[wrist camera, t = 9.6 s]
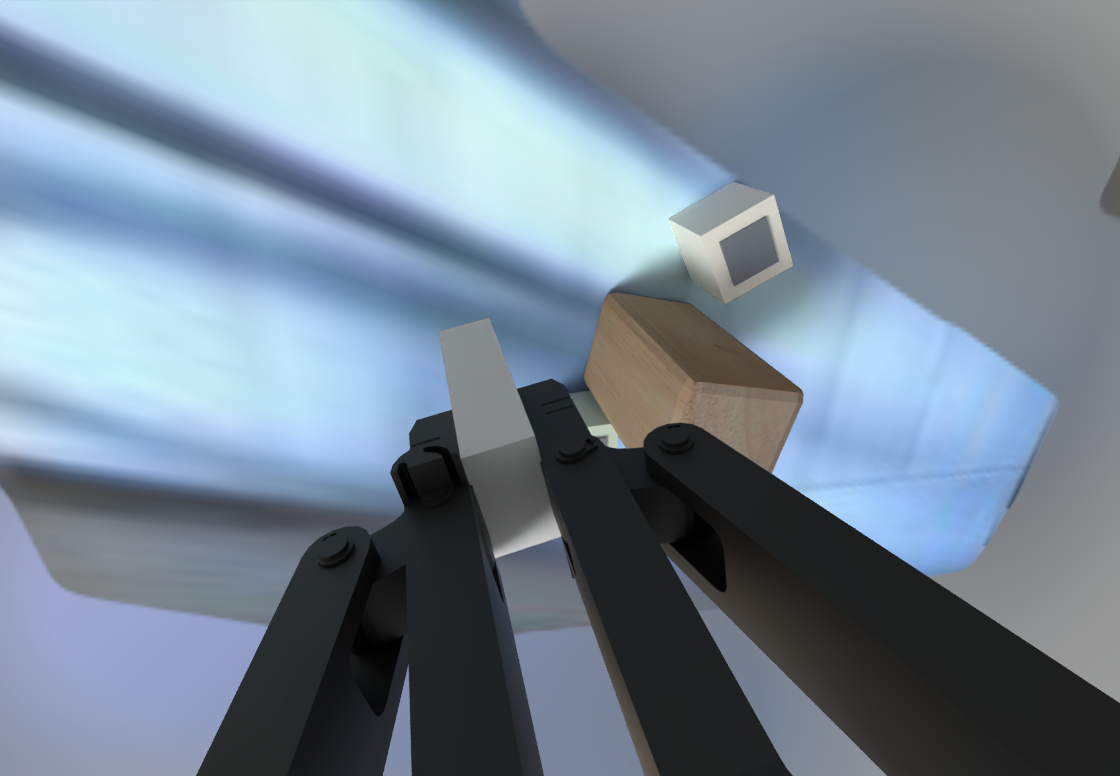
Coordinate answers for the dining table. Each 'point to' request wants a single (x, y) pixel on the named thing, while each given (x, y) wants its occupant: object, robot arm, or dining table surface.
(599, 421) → the sage labelled cube
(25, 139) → the dining table surface
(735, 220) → the cream labelled cube
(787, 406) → the wooden block
